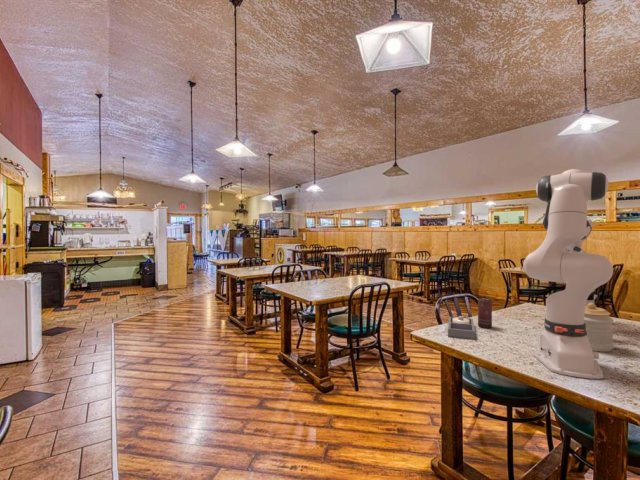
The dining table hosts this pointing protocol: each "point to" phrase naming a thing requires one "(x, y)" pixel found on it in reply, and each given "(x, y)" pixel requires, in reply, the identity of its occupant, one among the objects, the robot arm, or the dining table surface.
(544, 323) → the robot arm
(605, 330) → the jar
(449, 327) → the tray
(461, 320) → the cream knobbed oval piece
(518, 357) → the dining table surface
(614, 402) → the dining table surface
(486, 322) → the can
